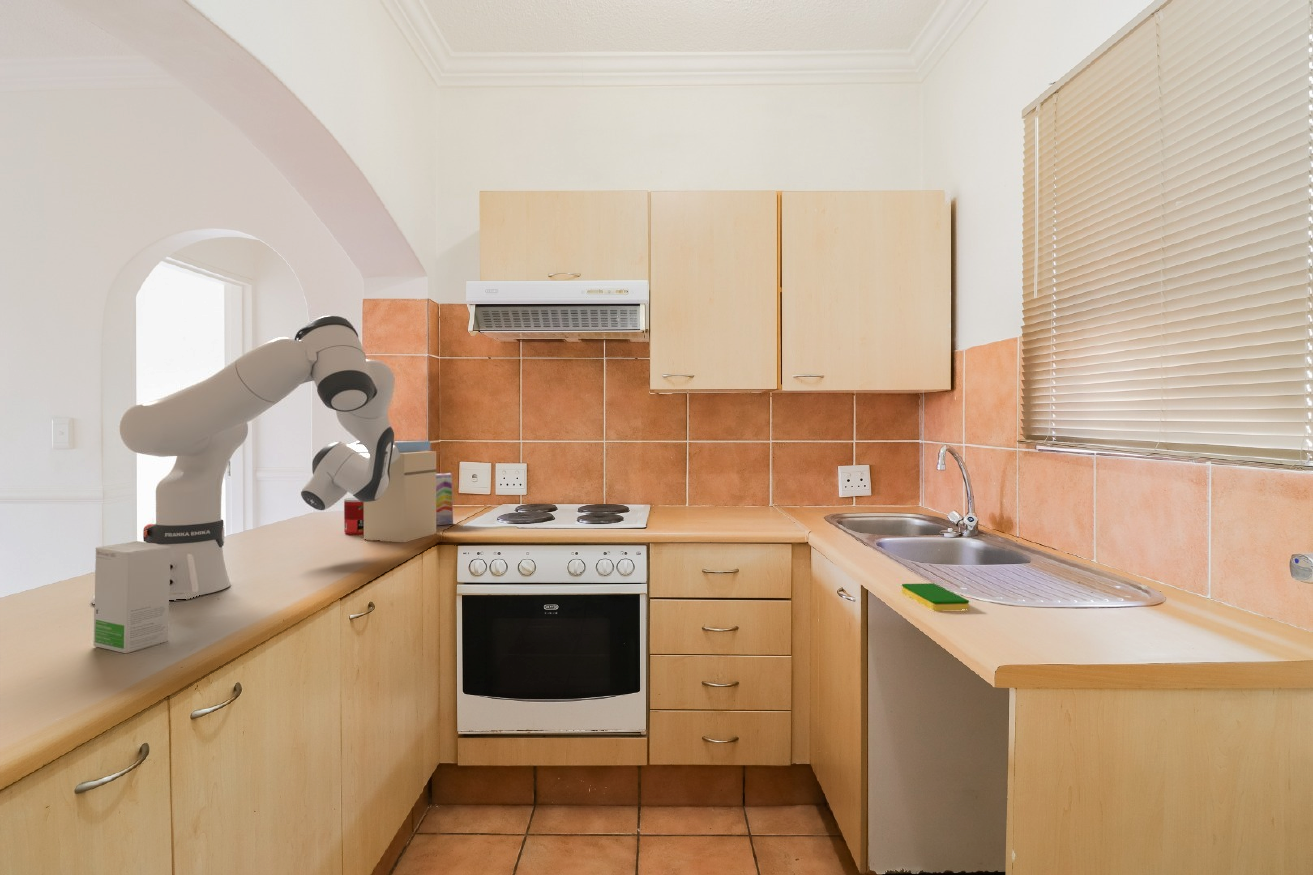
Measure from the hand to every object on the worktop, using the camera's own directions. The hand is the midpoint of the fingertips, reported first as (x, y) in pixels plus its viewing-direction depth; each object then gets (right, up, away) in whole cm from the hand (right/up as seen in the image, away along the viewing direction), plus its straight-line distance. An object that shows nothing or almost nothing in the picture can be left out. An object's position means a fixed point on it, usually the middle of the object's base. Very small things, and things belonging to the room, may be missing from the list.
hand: (378, 441), depth 191 cm
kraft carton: (+3, -29, +10) cm, 31 cm away
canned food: (-13, -29, +16) cm, 36 cm away
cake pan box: (+2, -29, +32) cm, 43 cm away
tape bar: (+3, -3, +9) cm, 10 cm away
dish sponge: (+137, -32, -60) cm, 153 cm away
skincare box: (-1, -32, -88) cm, 94 cm away
